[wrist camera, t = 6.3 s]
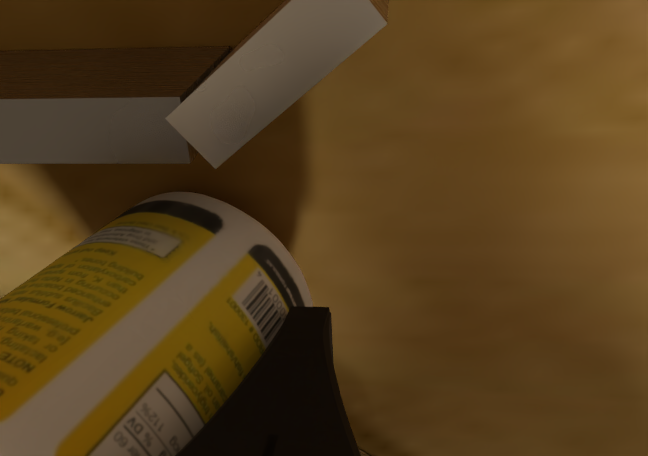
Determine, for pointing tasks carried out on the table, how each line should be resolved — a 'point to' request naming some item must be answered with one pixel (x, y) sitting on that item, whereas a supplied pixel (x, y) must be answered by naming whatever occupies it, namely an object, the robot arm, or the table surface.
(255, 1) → the table surface
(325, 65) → the steel bracket
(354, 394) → the table surface
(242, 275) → the supplement bottle
